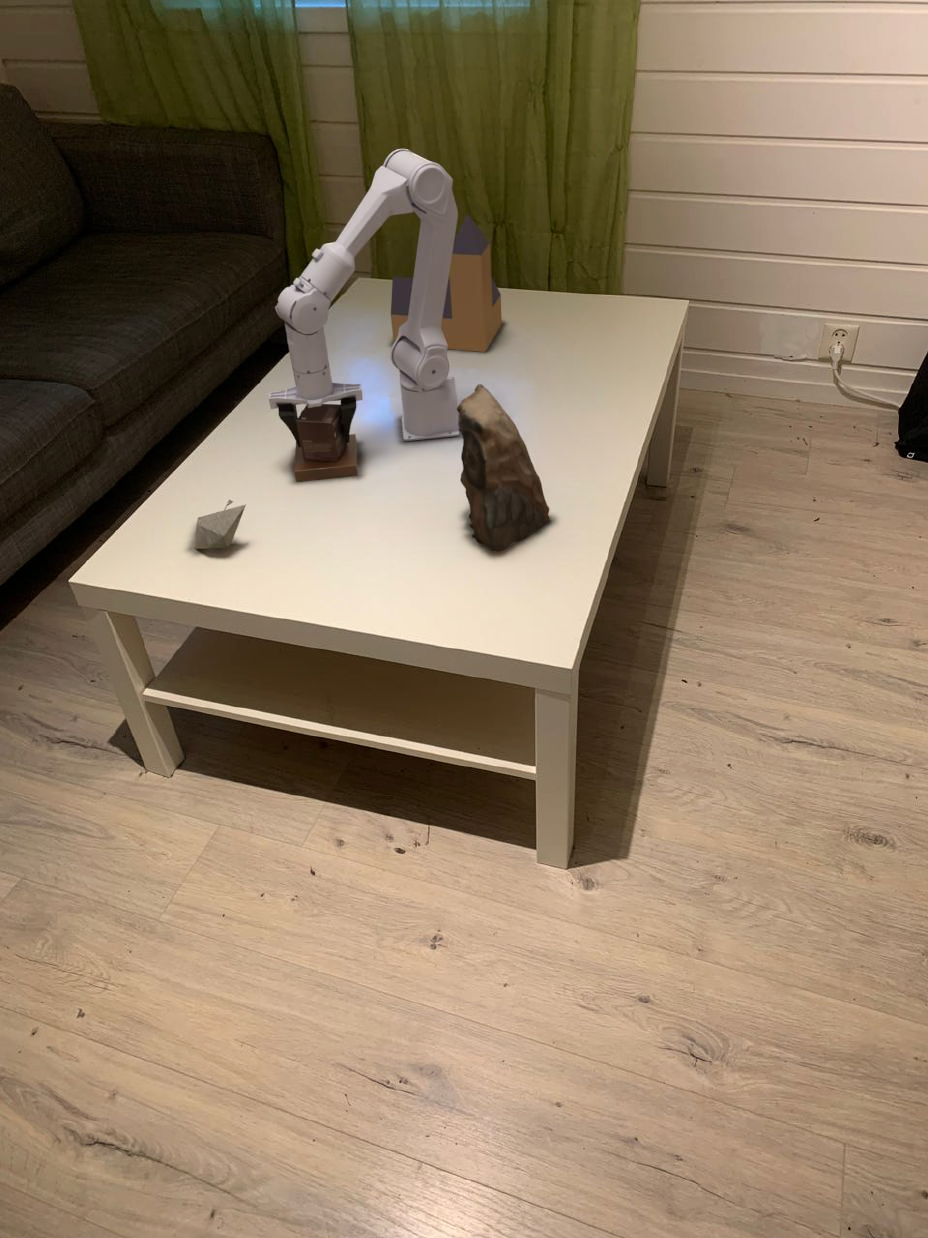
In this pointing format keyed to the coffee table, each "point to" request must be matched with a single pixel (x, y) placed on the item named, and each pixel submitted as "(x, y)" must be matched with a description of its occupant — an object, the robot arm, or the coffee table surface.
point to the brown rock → (498, 474)
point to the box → (321, 432)
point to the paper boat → (218, 528)
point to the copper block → (327, 464)
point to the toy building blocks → (460, 294)
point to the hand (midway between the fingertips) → (323, 441)
